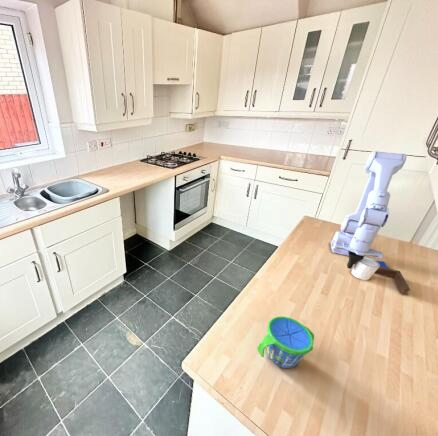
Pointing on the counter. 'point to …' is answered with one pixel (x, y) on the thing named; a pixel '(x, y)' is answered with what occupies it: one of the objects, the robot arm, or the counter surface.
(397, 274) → the corner guard
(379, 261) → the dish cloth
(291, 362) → the snack cup
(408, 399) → the counter surface
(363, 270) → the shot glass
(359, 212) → the robot arm
